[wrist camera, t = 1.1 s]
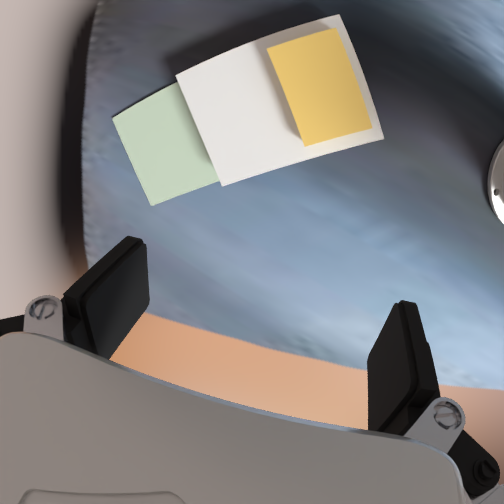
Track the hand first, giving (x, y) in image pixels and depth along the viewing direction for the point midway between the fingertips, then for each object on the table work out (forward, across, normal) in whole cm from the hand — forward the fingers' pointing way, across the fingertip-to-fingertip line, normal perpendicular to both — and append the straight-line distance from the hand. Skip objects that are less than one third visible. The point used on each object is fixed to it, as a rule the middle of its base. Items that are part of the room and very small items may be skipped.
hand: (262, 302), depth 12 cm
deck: (+24, +4, -6) cm, 25 cm away
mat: (+24, +16, +1) cm, 29 cm away
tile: (+20, 0, -8) cm, 22 cm away
